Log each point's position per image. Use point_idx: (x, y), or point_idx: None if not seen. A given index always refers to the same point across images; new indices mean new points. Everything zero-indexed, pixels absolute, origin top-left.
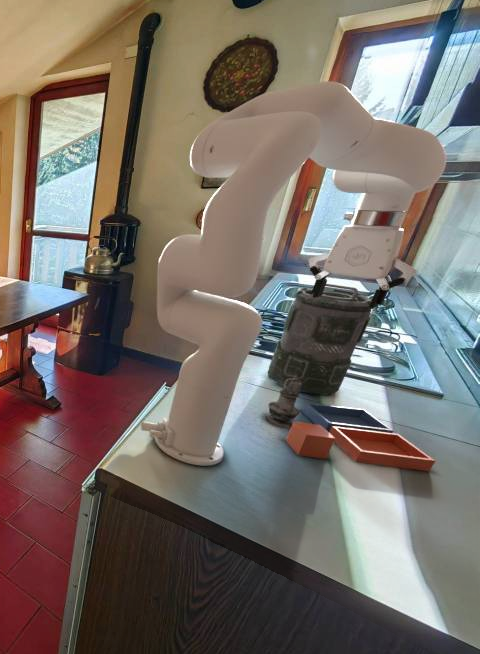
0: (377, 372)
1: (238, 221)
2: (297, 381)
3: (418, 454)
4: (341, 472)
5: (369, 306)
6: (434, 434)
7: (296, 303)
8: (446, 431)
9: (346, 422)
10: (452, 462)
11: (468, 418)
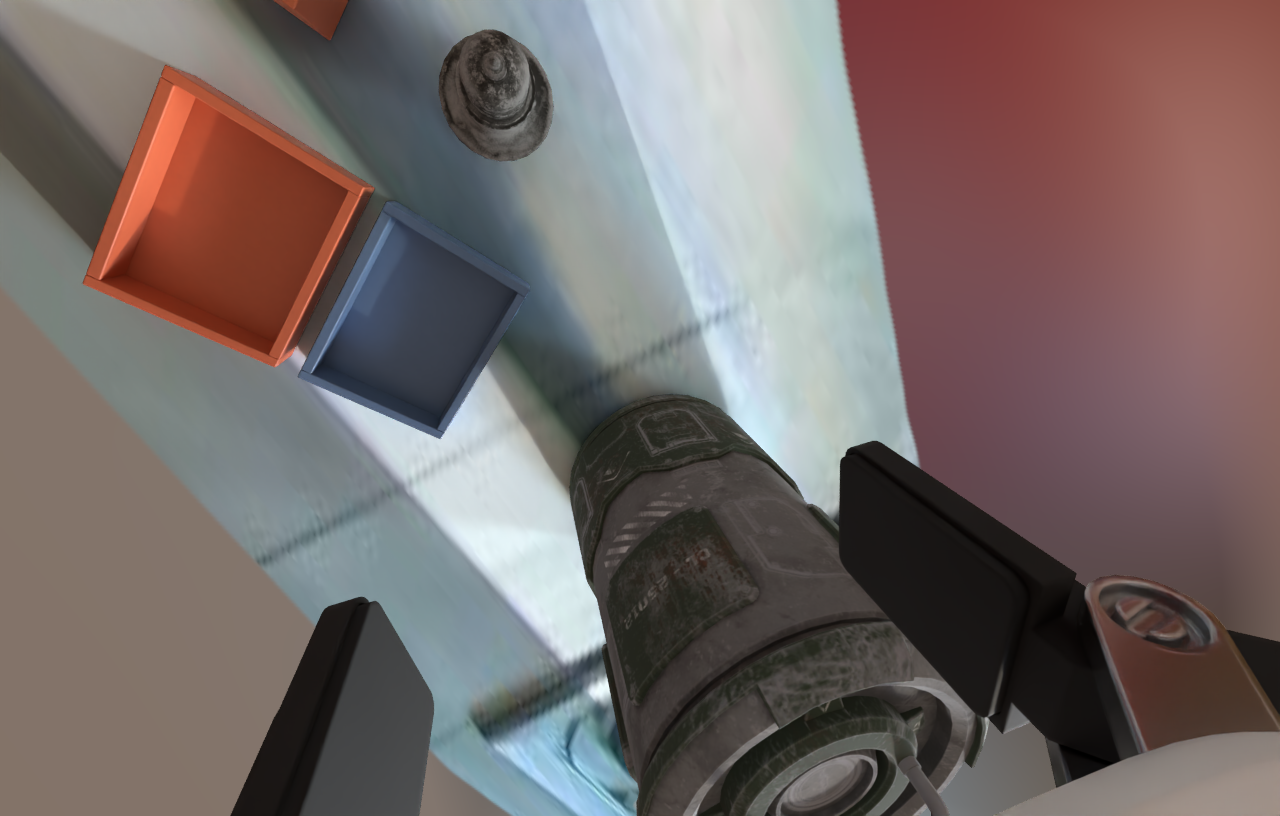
0: None
1: None
2: (475, 58)
3: (158, 301)
4: None
5: (368, 603)
6: (321, 528)
7: None
8: (329, 573)
9: (423, 340)
10: (167, 410)
11: None
